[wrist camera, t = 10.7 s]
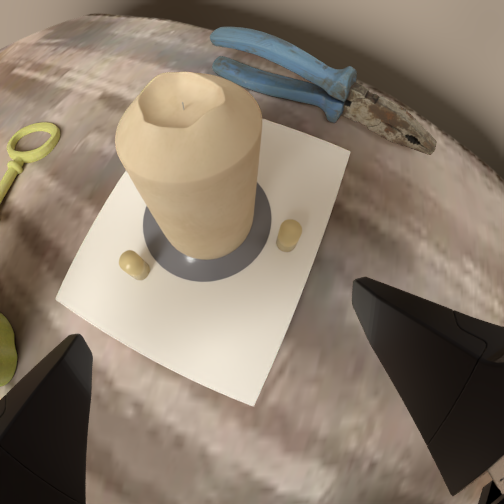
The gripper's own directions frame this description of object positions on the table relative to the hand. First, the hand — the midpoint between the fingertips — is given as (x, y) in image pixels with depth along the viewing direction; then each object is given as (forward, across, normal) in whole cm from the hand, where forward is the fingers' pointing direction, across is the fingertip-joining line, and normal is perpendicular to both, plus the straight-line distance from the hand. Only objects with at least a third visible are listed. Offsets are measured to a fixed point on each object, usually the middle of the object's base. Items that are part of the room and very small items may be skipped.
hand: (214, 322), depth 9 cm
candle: (+10, 0, 0) cm, 10 cm away
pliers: (+18, -10, -5) cm, 21 cm away
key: (+19, +17, -6) cm, 26 cm away
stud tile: (+11, 0, +1) cm, 11 cm away
